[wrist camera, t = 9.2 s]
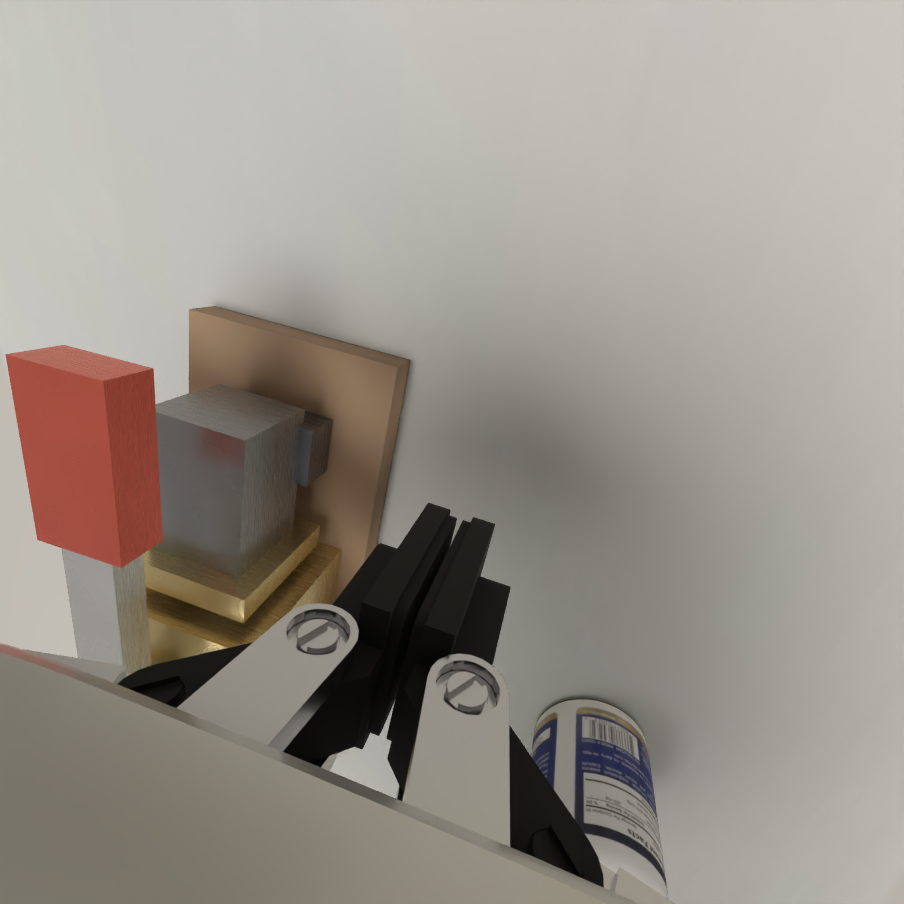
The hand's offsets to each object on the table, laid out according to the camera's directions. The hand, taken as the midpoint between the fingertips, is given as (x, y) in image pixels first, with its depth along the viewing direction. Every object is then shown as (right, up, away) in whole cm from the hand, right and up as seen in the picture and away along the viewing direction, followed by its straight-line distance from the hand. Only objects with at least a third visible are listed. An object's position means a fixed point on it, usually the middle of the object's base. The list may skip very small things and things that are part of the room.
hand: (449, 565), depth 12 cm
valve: (-9, -4, +12) cm, 15 cm away
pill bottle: (+7, -11, +13) cm, 19 cm away
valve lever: (-9, -1, +4) cm, 10 cm away
